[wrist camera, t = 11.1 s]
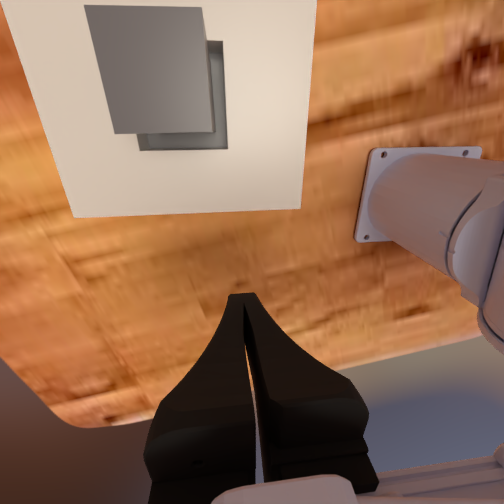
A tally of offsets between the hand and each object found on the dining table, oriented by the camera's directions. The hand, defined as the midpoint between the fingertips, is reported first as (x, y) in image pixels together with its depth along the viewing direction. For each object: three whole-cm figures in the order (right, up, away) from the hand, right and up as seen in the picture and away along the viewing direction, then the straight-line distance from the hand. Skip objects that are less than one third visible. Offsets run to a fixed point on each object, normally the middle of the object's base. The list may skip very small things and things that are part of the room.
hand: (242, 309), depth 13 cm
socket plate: (-4, +13, +4) cm, 14 cm away
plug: (-4, +13, +4) cm, 14 cm away
